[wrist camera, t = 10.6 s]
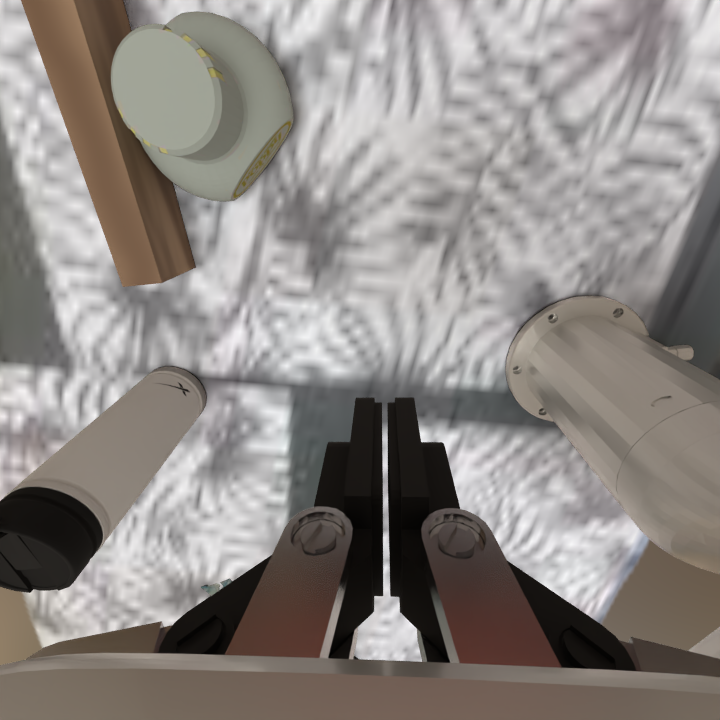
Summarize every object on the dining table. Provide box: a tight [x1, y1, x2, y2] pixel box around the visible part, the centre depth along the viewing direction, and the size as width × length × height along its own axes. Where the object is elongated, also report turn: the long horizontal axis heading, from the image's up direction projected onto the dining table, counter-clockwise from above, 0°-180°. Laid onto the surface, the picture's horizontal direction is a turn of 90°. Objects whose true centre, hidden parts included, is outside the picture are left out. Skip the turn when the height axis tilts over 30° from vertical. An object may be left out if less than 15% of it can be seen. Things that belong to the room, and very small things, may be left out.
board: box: [21, 0, 195, 287], centre depth 27 cm, size 3×22×6 cm, turn 6°
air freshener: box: [111, 12, 293, 202], centre depth 25 cm, size 11×8×10 cm
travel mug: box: [0, 367, 206, 593], centre depth 30 cm, size 6×7×20 cm
